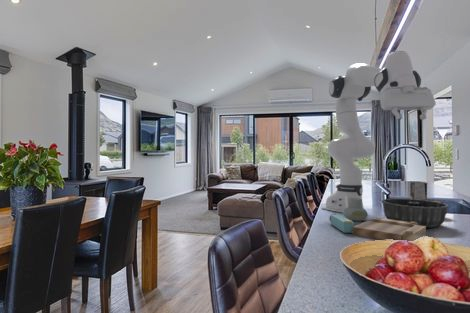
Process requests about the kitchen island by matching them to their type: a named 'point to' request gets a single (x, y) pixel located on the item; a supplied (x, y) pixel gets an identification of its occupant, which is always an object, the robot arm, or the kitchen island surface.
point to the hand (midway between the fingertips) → (411, 119)
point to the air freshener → (355, 210)
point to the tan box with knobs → (390, 229)
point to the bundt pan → (416, 211)
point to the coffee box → (418, 190)
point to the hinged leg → (341, 223)
